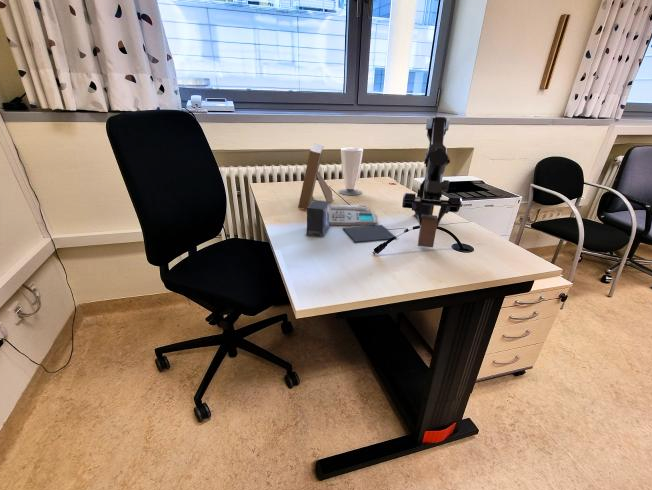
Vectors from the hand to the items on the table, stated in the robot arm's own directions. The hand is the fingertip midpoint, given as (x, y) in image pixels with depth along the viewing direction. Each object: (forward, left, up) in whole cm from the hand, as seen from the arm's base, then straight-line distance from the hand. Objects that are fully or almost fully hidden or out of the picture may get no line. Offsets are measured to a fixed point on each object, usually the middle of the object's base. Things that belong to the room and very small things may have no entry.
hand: (428, 225), depth 111 cm
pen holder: (-1, -1, -7) cm, 7 cm away
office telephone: (+13, -39, -9) cm, 42 cm away
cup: (+1, -77, -9) cm, 77 cm away
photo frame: (+23, -61, -9) cm, 66 cm away
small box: (+31, -25, -9) cm, 41 cm away
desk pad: (+13, -18, -9) cm, 24 cm away
